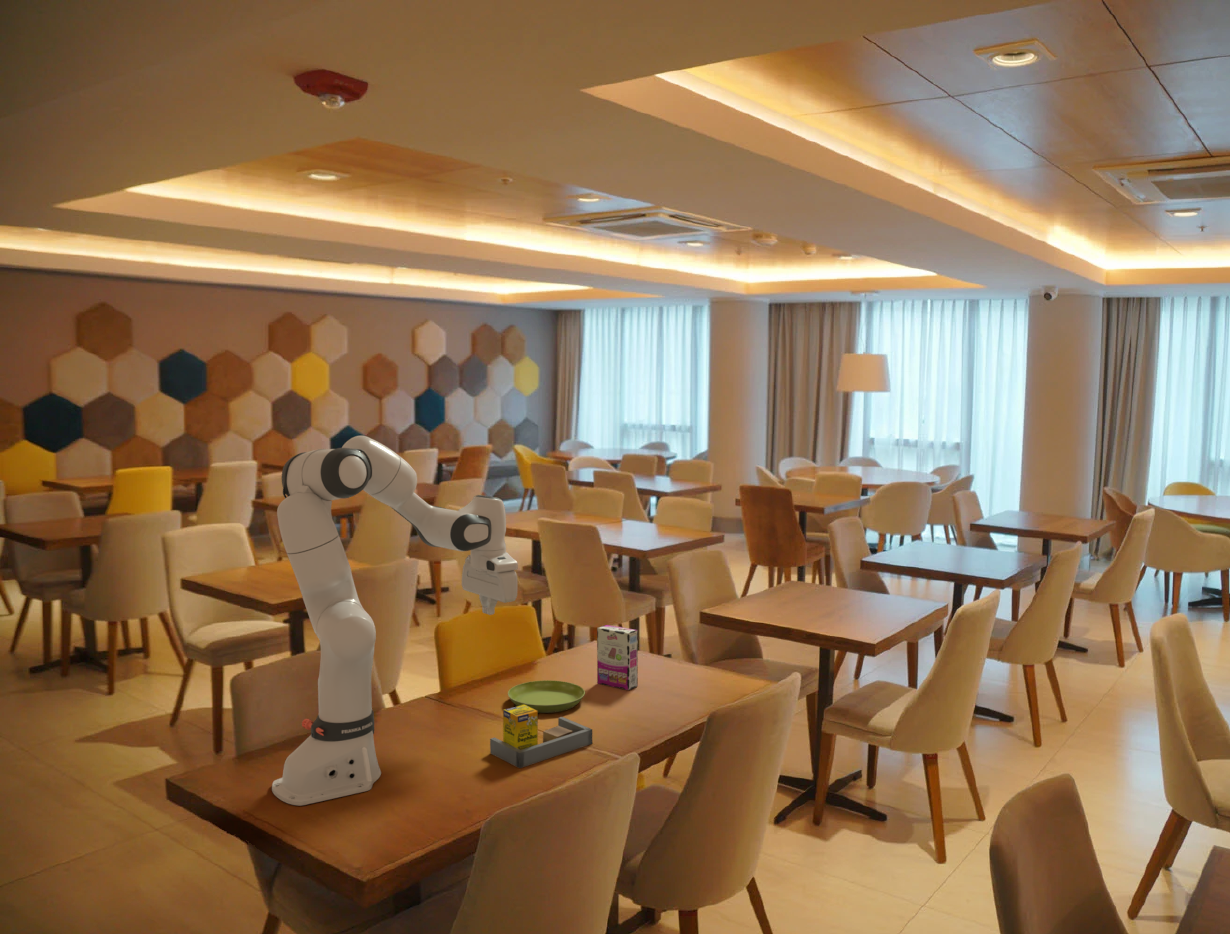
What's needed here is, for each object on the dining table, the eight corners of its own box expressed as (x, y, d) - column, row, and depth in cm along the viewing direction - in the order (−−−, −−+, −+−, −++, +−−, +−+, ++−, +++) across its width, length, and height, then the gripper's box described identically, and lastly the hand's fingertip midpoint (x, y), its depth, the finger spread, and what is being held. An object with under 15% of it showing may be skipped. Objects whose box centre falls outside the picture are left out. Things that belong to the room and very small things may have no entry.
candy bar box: (638, 686, 265) (638, 629, 264) (628, 691, 261) (628, 633, 260) (606, 679, 271) (606, 623, 270) (596, 683, 267) (596, 627, 266)
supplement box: (516, 763, 211) (516, 716, 210) (502, 755, 216) (502, 709, 215) (538, 756, 215) (538, 710, 214) (524, 749, 220) (523, 703, 219)
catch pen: (519, 768, 208) (519, 753, 208) (490, 753, 217) (490, 738, 217) (592, 743, 223) (592, 729, 222) (562, 730, 231) (562, 716, 231)
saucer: (555, 722, 238) (555, 710, 237) (492, 707, 248) (491, 696, 248) (599, 699, 255) (599, 687, 255) (538, 686, 266) (538, 675, 266)
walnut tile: (557, 749, 220) (557, 736, 220) (543, 743, 224) (543, 731, 223) (572, 743, 224) (572, 731, 224) (558, 737, 227) (558, 725, 227)
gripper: (455, 554, 240) (455, 607, 241) (500, 566, 225) (500, 623, 226) (476, 552, 244) (476, 604, 246) (522, 563, 229) (521, 619, 230)
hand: (488, 613), depth 236 cm, fingers closed
